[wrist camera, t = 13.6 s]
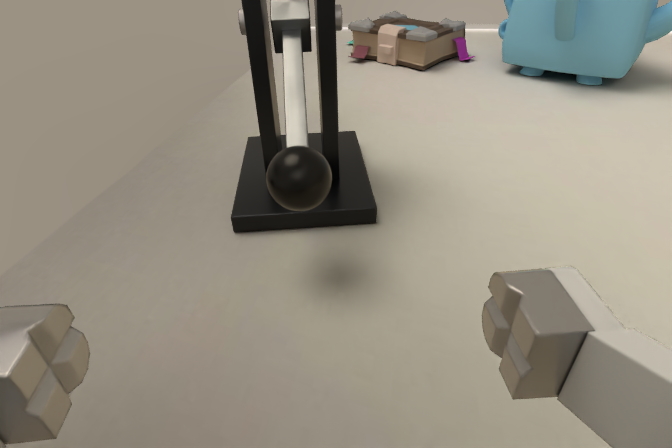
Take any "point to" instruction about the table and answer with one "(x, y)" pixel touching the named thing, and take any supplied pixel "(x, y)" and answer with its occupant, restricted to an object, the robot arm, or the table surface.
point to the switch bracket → (337, 147)
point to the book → (408, 40)
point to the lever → (295, 115)
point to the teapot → (581, 35)
